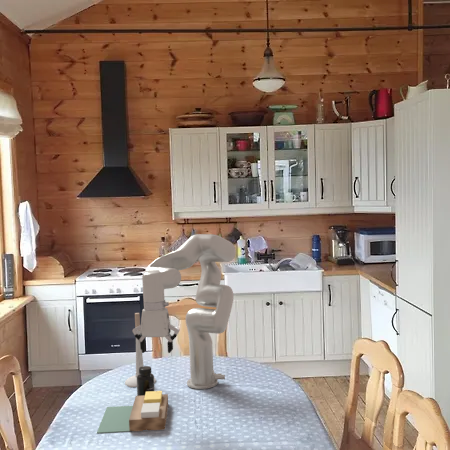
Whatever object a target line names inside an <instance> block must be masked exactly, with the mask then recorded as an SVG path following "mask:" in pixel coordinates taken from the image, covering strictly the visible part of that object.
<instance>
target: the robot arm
mask: <svg viewBox="0 0 450 450" xmlns="http://www.w3.org/2000/svg"><path fill="white" fill-rule="evenodd" d="M236 253H237V252H236V248H235V245H234V244H233V242H231V241H230V240H227V239H226V238H224V237H222V236H220V235H218V234H210V233H201V234H200V233H196V234H193V235H191V236H190V237H189V238H188V239H187V240H186V241H184V243H183V244H182V245H180V246H179V247H178V248H177V249H176V250H174V251H171V252H169V253H167V254H164V255H161V256H160V257H158V258H156V259H155V260H154V261H152V262H151V263H150V264H149V265H148V266H147V267H146V268H145V271H144V272H143V274H142V277H141V281H142V295H143V309H142V310H141V311H142V312H141V318H140V326H138V327H136V328H133V329H132V333H133V335H134V337H135V339H136V338H137V339H138V340H139V342H140V348H141V350H142V354H144V353H145V352H146V351H147V340H146V338H165V339H166V340H167V343H166V344H167V353H168V354H171V352H172V351H173V349H174V344H173V343H174V340H175V339H176V338H177V336H178V334H179V332H180V328H179V327H176V326H174V325H172V324H171V319H170V313H169V310H168V308H167V307H169V306H170V304H169V301H168V302H167V301H166V299H165V290H169V289H175V288H176V287H178V286H179V285H180V284H181V281H182V274H181V272H180V271H183V270H186V269H189V268H191V267H193V265H194V264H195V263H196V262H197V261H199V264H200V267H201V274H200V278H199V283H198V286H197V289H196V293H195V302H196V303H197V305H199V306H202V307H203V308H202V307H193V308H192V309H189V310H188V311H187V313H186V314H185V325H186V329H187V334H188V346H189V347H188V349H189V351H188V352H189V366H190V367H189V371H190V378H189V379H188V380H187V383H186V384H187V385H186V386H188V387H189V388H190V389H194V390H205V389H206V390H207V389H211V388H214V387H216V386H217V385H218V381H219V380H225V379H226V377H225V374H223V373H215V370H214V355H213V354H214V353H213V352H214V351H213V348H214V347H213V340H212V337H211V335H210V334H217V335H219V334H223V333H224V332H225V331H226V330H227V327H228V325H229V324H228V323H229V321H230V317H231V312H232V309H233V303H234V291H233V289H232V287H231V286H229V285H227V284H221V279H222V271H221V269H220V268H219V266H218V265H217V263H230V262H232V261H234V259H235V257H236ZM204 307H205V308H204ZM207 307H208V308H207ZM214 308H215V309H214ZM140 329H141V334H139V333H138V330H140ZM171 331H173V334H172V333H171Z"/></svg>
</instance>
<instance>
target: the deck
mask: <svg viewBox="0 0 450 450" xmlns="http://www.w3.org/2000/svg"><path fill="white" fill-rule="evenodd" d="M144 398H145V395H143V396H137V395H135V398H134V401H133V405H132V406H133V408H132V411H131V415H130V418H129V430H130V432H143V430H148V431H160V430H161V431H162V430H163V431H164V430H166V426H167V425H166V424H167V418H168V417H167V416H168V409H169V394H168V393H165V394H163V393H162V401H161V404H160V413H159V417H155V418H141V410H142V406H143V403H144Z"/></svg>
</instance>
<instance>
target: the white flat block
mask: <svg viewBox="0 0 450 450" xmlns="http://www.w3.org/2000/svg"><path fill="white" fill-rule="evenodd" d="M159 413H160V403H143V406H142V410H141V418H155V417H159Z"/></svg>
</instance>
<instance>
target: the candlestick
mask: <svg viewBox="0 0 450 450" xmlns="http://www.w3.org/2000/svg"><path fill="white" fill-rule="evenodd" d="M134 323H135V326H134V327H135V328H136V327H138V326H140V325H141V318H140V312H134ZM138 333H139V334H140V335H142V334H141V329H140V330H138ZM143 366H145V365H144V356H143V353H142V350H141V348H140V342H139V340H138V339H137V338H136V337H135V375H132V376H130V377H128V378H127V379H125V381H124V385H125V386H126V385H127V386H126V387H128V386H129V387H128V388H132V387H137V376H138V375H139V368H140V367H143ZM156 382H157V379H156V378H155V377H154V384H156Z"/></svg>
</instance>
